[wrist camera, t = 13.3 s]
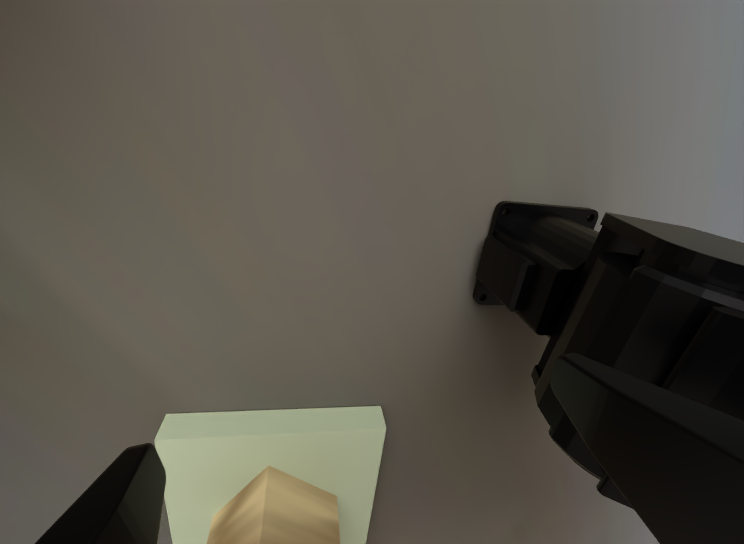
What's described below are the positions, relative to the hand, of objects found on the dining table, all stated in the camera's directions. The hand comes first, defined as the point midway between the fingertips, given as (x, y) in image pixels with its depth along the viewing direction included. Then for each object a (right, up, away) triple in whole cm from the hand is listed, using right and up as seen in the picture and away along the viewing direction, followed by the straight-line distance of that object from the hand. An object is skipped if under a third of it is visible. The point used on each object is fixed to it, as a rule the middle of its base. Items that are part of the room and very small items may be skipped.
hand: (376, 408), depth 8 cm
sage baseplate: (-7, -13, +19) cm, 24 cm away
